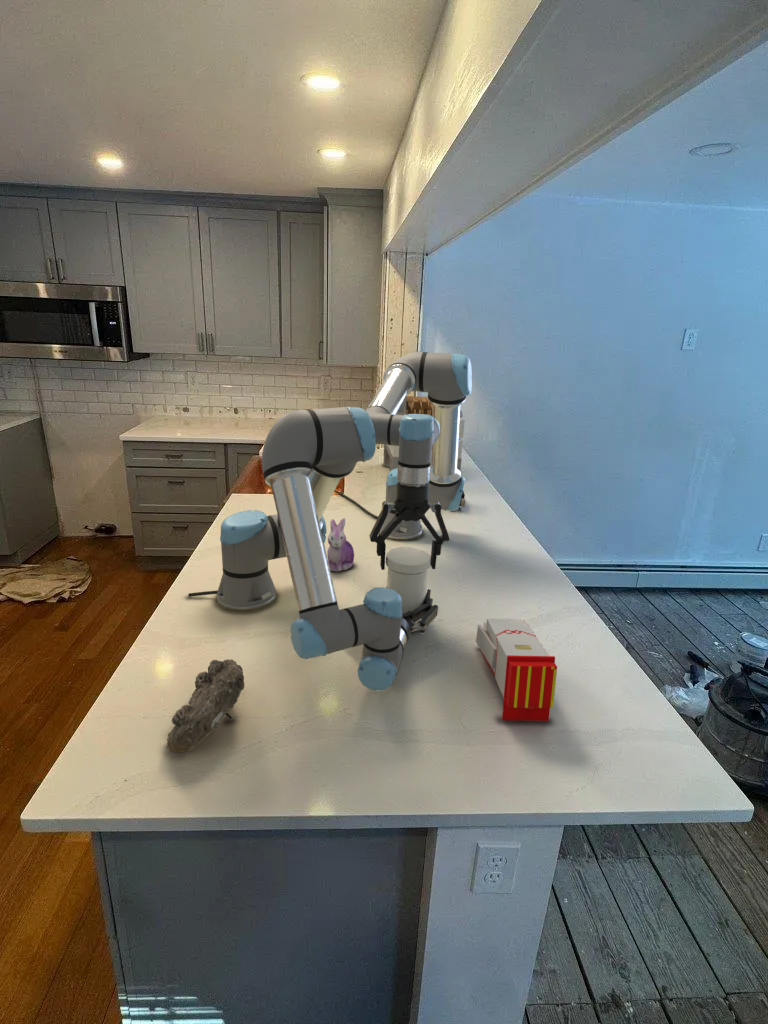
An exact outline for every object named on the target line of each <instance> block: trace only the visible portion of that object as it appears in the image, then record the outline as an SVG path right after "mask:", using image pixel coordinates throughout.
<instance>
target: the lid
mask: <svg viewBox="0 0 768 1024" xmlns="http://www.w3.org/2000/svg"><path fill="white" fill-rule="evenodd" d="M430 562H431V554H430V553H429V552H428V551H426V550H423V549H421V548H417V547H414V546H413V547H411V546H399V547H394V548H391V549H390V550H388V551H387V552H386V553H385V566H386V567H387V568H388V567H389V568H390V569H391V570H393V571H396V572H400V573H406V574H416V573H421V572H424V571H426V570H427V571H428V570H429V569H430V567H431V565H430Z"/></svg>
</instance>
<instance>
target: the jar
mask: <svg viewBox="0 0 768 1024" xmlns="http://www.w3.org/2000/svg"><path fill="white" fill-rule="evenodd" d="M427 581H428V570H426V571H424V572H421V573H416V574H406V573H400V572H396V571H393V570H391V569H390V568H389V567H388V566H387V582H386V587H387V588H389V589H392V590H394V591H396V592H397V593H398V594H399V595H400V596H401V599H402V613H406V612H408V611H413V610H415V609H417V608H418V607H420V606H422V605H424V599H425V596H426V593H427ZM419 620H421V619H419ZM419 620H418V621H416V622H414V623H417V622H419ZM417 631H419V630H418V629H414V630H413V631H411V632H410V633H413V632H417Z"/></svg>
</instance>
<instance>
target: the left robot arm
mask: <svg viewBox="0 0 768 1024" xmlns="http://www.w3.org/2000/svg"><path fill="white" fill-rule="evenodd" d="M365 410H366V409H364V408H361V407H358V406H357V407H355V406H343V407H342V406H341V407H326V408H311V409H309V408H308V409H305V408H303V409H302V408H301V409H294V410H291V411H289V412H287V413H285V414H283V415H282V416H281V417H279V418H278V419H277V420H276V421H275V422H274V423H273V425H272V427H271V428H270V430H269V431H268V434H267V435H266V438H265V441H264V444H263V448H262V454H261V455H262V456H261V466H262V467H261V468H262V475H263V479H264V483H265V484H266V485H268V486H269V487H271V491H272V496H273V501H274V506H275V510H276V514H270V515H267V514H266V513H265V512H264V511H262V510H257V509H255V510H252V509H249V510H242V511H237V512H235V513H232V514H231V515H228V516H227V517H226V518H225V519H224V520H223V521H222V522H221V525H220V535H219V536H220V537H219V541H220V547H221V549H220V550H221V561H222V563H221V564H222V565H221V566H222V576H221V579H220V582H219V585H218V589H217V590H208V591H207V590H206V591H197V592H189V593H188V597H189V598H190V597H199V596H207V595H208V596H209V595H216V596H217V597H216V599H217V601H216V602H217V604H218V605H219V606H220V607H221V608H223V609H225V610H228V611H233V612H240V613H241V612H244V613H245V612H254V611H258V610H262V609H264V608H267V607H268V606H270V605H272V604H273V602H275V600H276V598H277V591H276V586H275V583H274V581H273V578H272V576H271V573H270V571H269V561H272V560H277V559H283V558H286V559H287V564H288V569H289V573H290V578H291V583H292V587H293V592H294V594H295V600H296V605H297V610H298V614H299V617H298V619H295V620H293V621H292V623H291V624H290V641H291V644H292V647H293V650H294V652H295V654H296V655H297V656H298V658H300V659H303V660H310V659H313V658H319V657H325V656H327V655H331V654H334V653H336V652H340V651H343V650H347V649H350V648H355V647H359V646H362V654H361V655H362V656H361V659H359V662H358V667H357V673H356V674H357V678H358V679H359V682H360V684H362V686H364V687H365V688H366V689H369V690H371V691H375V692H380V691H384V690H387V689H388V688H390V686H391V685H392V684H393V682H394V680H395V679H396V677H397V675H398V669H399V666H400V664H401V660H402V657H403V654H404V651H405V649H406V646H407V643H408V640H409V637H410V634H411V633H412V632H411V631H413V630H414V629H418V630H417V631H419V633H420V634H425V633H426V630H427V628H428V627H429V625H430V624H431V623H432V622H433V621H434V620H435V618H437V617H438V613H439V612H438V611H439V605H438V604H433V603H434V599H433V598H432V597H431V594H432V593H431V592H432V590H431V589H430V588H429V589H426V595H425V599H424V605H422V606H420V607H418V608H417V609H415V610H413V611H408V612H406V613H402V599H401V596H400V595H399V594H398V593H397V592H396V591H394V590H392V589H389V588H387V586H386V587H375V588H372V589H370V590H369V591H367V592H365V594H364V598H363V601H362V603H361V604H359V605H357V604H356V605H353V606H350V607H344V608H341V609H340V608H339V607H340V606H339V604H338V599H337V594H336V591H335V586H334V581H333V577H332V573H331V572H332V571H331V570H330V568H329V563H328V557H327V550H326V546H325V543H326V540H327V535H326V534H327V524H326V523H327V522H326V520H325V518H324V516H323V514H324V513H325V511H326V508H327V507H328V505H329V503H330V500H331V499H332V497H333V496H334V493H335V492H334V491H335V490H336V489H337V487H338V485H339V483H340V481H341V479H342V478H343V479H344V478H346V477H347V476H349V475H350V474H351V473H352V472H353V471H354V469H355V467H356V465H357V464H358V463H359V462H363V463H365V462H368V461H370V460H372V459H373V457H374V456H375V453H376V449H377V448H376V447H377V444H376V438H375V430H374V426H373V423H372V420H371V418H370V416H369V415H368V413H367V412H366V411H365ZM419 619H421V620H419ZM418 620H419V622H417V623H414V622H416V621H418Z"/></svg>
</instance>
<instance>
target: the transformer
mask: <svg viewBox="0 0 768 1024" xmlns="http://www.w3.org/2000/svg"><path fill="white" fill-rule="evenodd" d="M432 408H433V404H432V403H431V402H430V401H429V400H428V396H415V395H414V396H413V395H412V396H411V395H408V394H407V395H406V396H405V398H404V400H403V402H402V404H401V406H400V408H399V410H398V412H397V414H396V415H408V414H427V415H431V416H432ZM464 429H465V419H464V418H463V411H462V408H461V407H460V422H459V439H458V456H457V469H458V470H459V471H460V472H462V461H463V460H462V453H463V442H464V441H463V440H462V439H463V438H464V431H465V430H464ZM398 456H399V446H393V445H383V466H384V467H388V468H389V472H390V471H391V470H393V469H396V468H398Z"/></svg>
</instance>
